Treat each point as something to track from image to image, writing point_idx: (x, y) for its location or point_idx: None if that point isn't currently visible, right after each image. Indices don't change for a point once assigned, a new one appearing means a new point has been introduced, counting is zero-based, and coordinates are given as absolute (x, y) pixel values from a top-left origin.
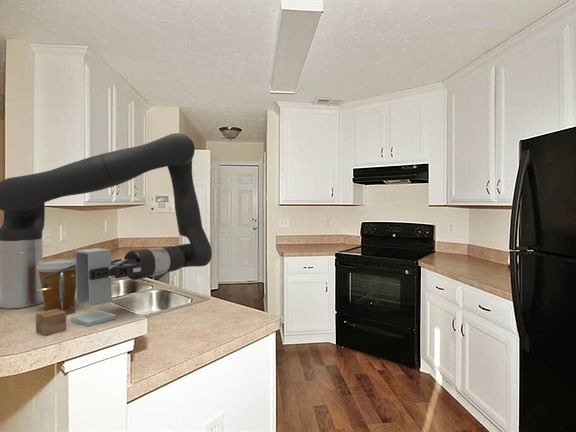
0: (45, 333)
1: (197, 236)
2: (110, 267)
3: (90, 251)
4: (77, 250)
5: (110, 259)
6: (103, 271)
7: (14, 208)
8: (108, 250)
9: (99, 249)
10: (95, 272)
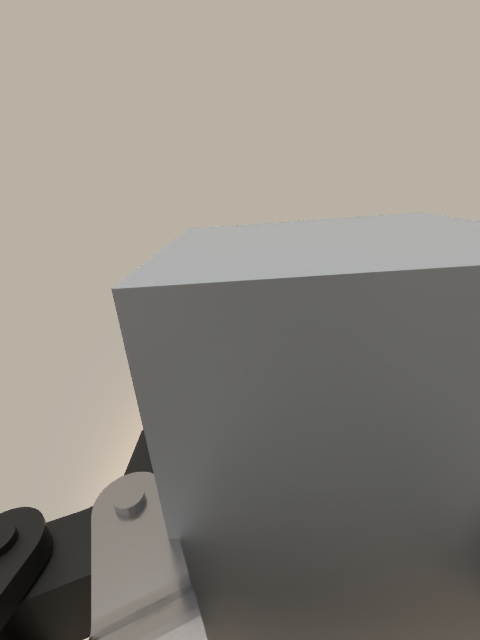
0: None
1: None
2: (103, 491)
3: (219, 230)
4: (418, 214)
5: (152, 457)
6: (137, 448)
7: None
8: (126, 288)
9: (338, 252)
10: None
